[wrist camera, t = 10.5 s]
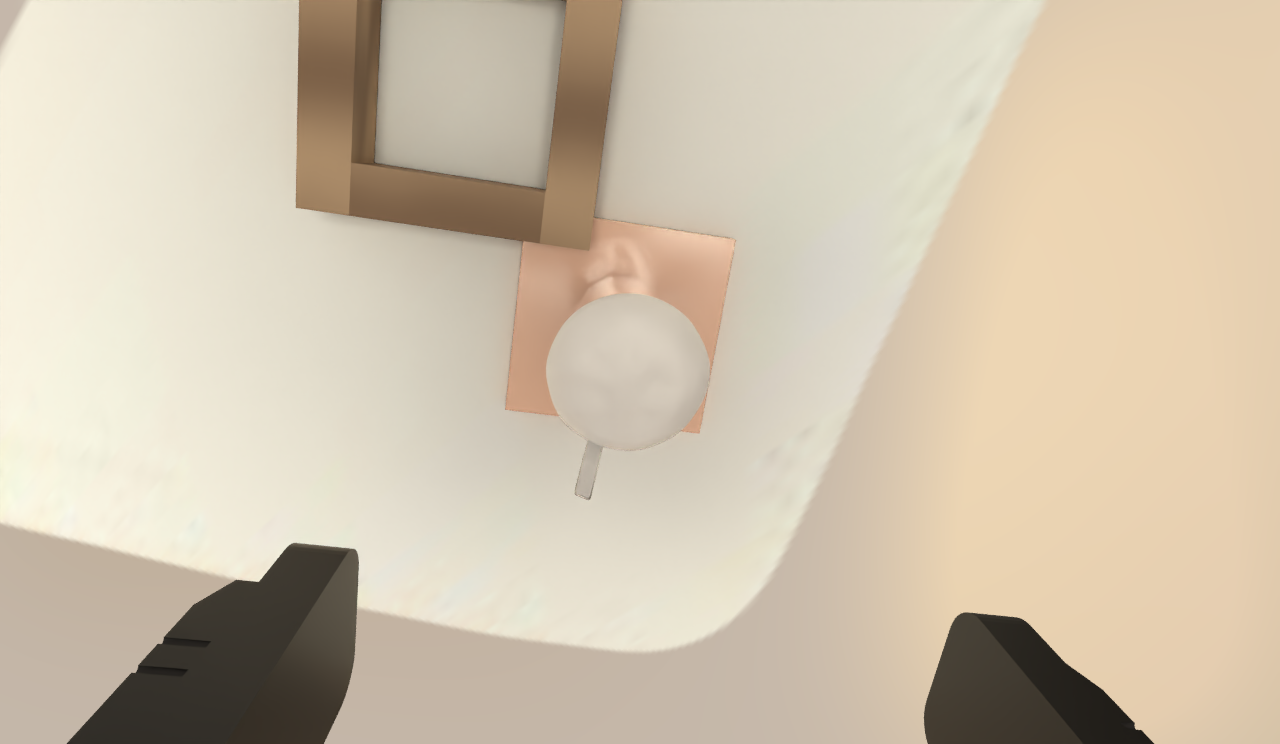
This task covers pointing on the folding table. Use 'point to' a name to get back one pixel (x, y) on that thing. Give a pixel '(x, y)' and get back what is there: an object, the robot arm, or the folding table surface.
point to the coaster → (560, 277)
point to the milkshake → (625, 371)
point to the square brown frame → (356, 186)
